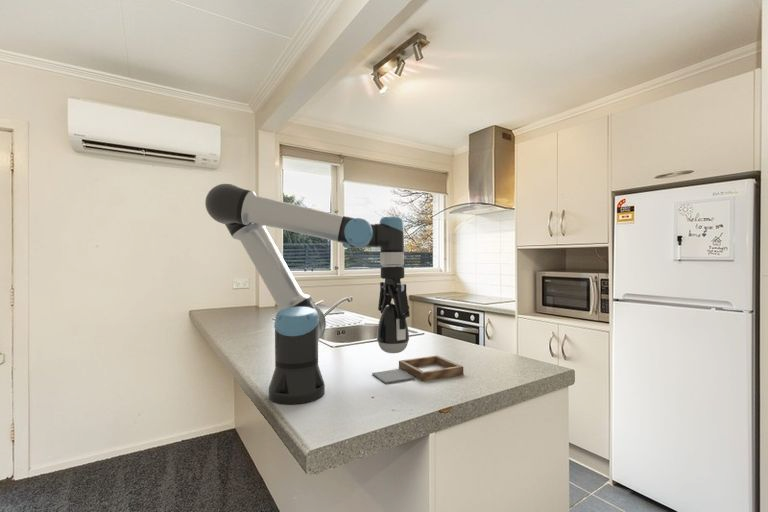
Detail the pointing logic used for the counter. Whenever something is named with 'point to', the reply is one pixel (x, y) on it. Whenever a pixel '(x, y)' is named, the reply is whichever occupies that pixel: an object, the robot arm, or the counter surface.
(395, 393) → the counter surface
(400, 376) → the pad
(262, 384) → the counter surface
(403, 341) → the pump dispenser
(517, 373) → the counter surface
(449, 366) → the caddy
